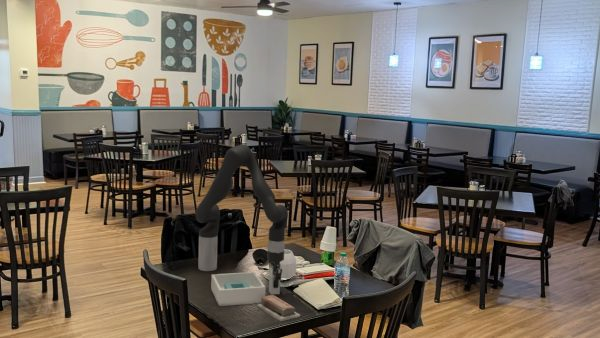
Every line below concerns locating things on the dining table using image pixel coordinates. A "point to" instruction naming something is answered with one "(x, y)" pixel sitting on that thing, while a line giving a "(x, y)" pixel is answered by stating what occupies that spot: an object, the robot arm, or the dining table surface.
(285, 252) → the white round vase
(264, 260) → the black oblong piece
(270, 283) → the grey upright block
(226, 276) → the walled box
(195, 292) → the dining table surface
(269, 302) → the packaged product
